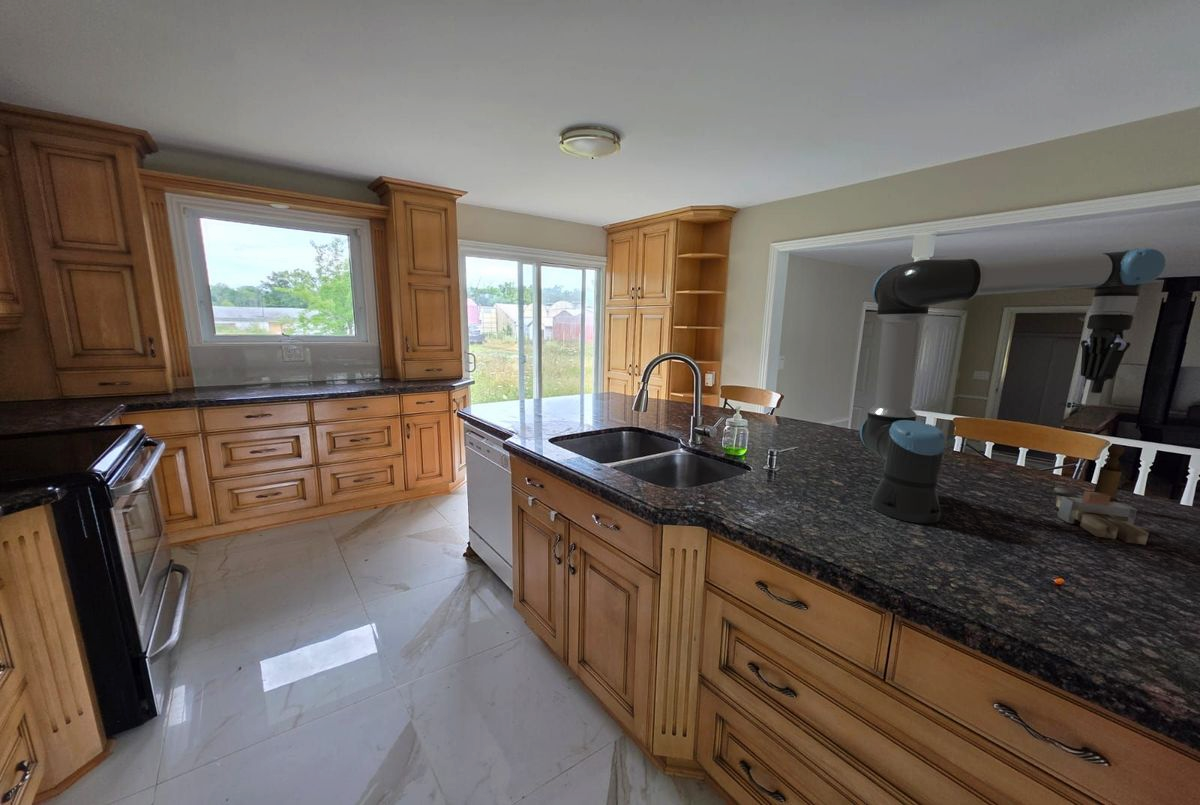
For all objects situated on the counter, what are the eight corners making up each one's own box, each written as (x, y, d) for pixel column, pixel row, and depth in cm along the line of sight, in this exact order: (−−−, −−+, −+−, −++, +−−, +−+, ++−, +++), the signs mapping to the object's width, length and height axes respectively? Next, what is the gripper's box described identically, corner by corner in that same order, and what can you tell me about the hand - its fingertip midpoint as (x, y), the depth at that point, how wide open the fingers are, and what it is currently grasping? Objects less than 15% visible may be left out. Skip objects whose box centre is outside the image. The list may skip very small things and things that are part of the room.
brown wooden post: (1126, 512, 121) (1143, 449, 118) (1098, 509, 123) (1114, 447, 119) (1104, 503, 128) (1120, 442, 124) (1077, 500, 129) (1092, 440, 126)
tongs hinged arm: (1095, 536, 106) (1100, 519, 105) (1040, 499, 128) (1044, 485, 127) (1129, 541, 104) (1134, 524, 103) (1067, 503, 126) (1071, 488, 125)
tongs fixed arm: (1116, 540, 104) (1120, 528, 104) (1052, 503, 126) (1054, 492, 126) (1145, 544, 103) (1149, 531, 102) (1075, 505, 125) (1077, 495, 124)
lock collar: (1067, 522, 113) (1074, 494, 111) (1057, 516, 117) (1063, 488, 115) (1131, 531, 109) (1139, 501, 108) (1118, 524, 113) (1126, 495, 111)
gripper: (1152, 313, 106) (1127, 410, 110) (1110, 314, 118) (1089, 401, 122) (1112, 313, 108) (1089, 407, 112) (1075, 314, 120) (1055, 399, 125)
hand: (1089, 404), depth 117 cm, fingers closed
